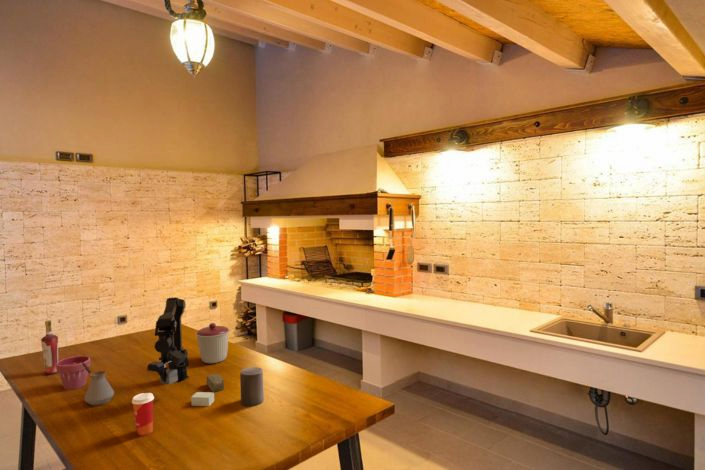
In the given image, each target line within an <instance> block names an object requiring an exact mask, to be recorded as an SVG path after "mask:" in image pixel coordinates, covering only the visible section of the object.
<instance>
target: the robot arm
mask: <svg viewBox="0 0 705 470" xmlns="http://www.w3.org/2000/svg"><path fill="white" fill-rule="evenodd" d="M185 309H186V300H185V299H182V298H179V297H175V296H174V297H168V298H166V301H165V309H164V311H163V314H160V315H159V316H158V317H157V320H156V323H155V330H154V336H155V337H157V336H158V339H157V340H156V342H155V344H154V349H155V351H156V352H158V353H159V354H160V357H158V360H159V361H156V360H155V361H153V362H150V363H148V364H147V366H146V368H147V371H148V372H156V373H157V374H158V376H159V377H161V378H160V380H161V379H162V380H163V382H166V370H167V369H168V368H169V369H177V374H178V381H177V382H183V381H184V380H186V379H188V378H189V377H190V376H189V375H188V373H187V368H188V367H189V366H190V363H189V362H190V360H189V356H188V355H189V353H188V350H187V349H184V347H183V340H182V339H183V337H182V335H183V334H182V333H183V331H182V317H183V315H184V313H185ZM167 365H168V367H167Z"/></svg>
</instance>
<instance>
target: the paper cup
mask: <svg viewBox="0 0 705 470" xmlns="http://www.w3.org/2000/svg"><path fill="white" fill-rule="evenodd" d="M154 399H155V396H154V394H153V393H152V392H145V393H144V392H143V393H138V394H136V395H134V396H133V397H132V400H131V404H132V407H133V415H134V421H135V422H134V423H135V430H136V435H137V436H140V437H141V436H147V435H151V434H152V433H153V431H154Z"/></svg>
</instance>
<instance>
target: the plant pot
mask: <svg viewBox="0 0 705 470" xmlns="http://www.w3.org/2000/svg"><path fill="white" fill-rule="evenodd" d="M82 363H86V366H87V367H88V368H89V369H90V367H91V363H92V362H91V357H90V356H87V355H77V356H71V357H66V358H62V359H60V360H58V362H57V363H56V370H57V373H58V374H59V377H60V380H61V383H62V386H63V389H64V390H67V391H68V390H69V391H70V390H71V391H72V390H76V389H80V388H82V387H84V386H86V384H87V379H88V374H89V372H88V371H87V370H86V369H85V367H84V365H83V364H82ZM80 365H81V366H80Z"/></svg>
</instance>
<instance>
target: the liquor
mask: <svg viewBox="0 0 705 470" xmlns="http://www.w3.org/2000/svg"><path fill="white" fill-rule="evenodd" d="M44 324H45V336H43V337H42V338H41V339H40V342H41V351H42V355H43V363H44V364H43V366H44V374H46V375H49V374H50V375H54V374H53V373H55V374H57V373H58V372H57V370H56V363H57V362H58V361H59V336H58V335H55V334H54V333H53V329H52V320H51V319H49V320H48V319H47V320H45V321H44ZM56 372H57V373H56Z"/></svg>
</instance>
